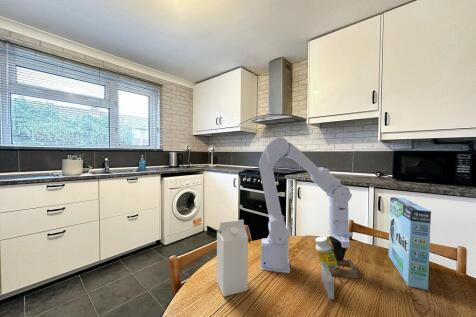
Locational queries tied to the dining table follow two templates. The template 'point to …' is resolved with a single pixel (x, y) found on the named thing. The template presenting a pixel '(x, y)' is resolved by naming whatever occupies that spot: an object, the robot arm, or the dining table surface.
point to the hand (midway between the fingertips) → (339, 259)
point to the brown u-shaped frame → (346, 273)
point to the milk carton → (232, 257)
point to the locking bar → (327, 280)
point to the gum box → (410, 241)
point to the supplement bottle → (326, 252)
